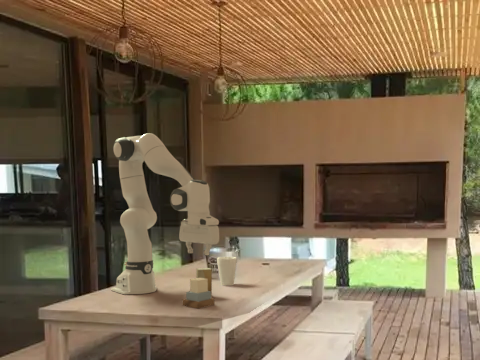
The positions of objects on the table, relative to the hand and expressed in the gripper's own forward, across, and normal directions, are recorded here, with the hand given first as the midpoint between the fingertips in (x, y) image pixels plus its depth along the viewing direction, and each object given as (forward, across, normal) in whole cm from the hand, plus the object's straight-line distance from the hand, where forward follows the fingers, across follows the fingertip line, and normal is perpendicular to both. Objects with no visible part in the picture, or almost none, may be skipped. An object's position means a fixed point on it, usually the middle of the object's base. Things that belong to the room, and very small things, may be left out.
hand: (198, 254), depth 226 cm
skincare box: (+21, -10, +13) cm, 27 cm away
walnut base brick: (+21, 0, 0) cm, 21 cm away
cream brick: (+15, 0, 0) cm, 15 cm away
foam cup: (+21, -23, +41) cm, 52 cm away
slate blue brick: (+18, +1, 0) cm, 18 cm away
